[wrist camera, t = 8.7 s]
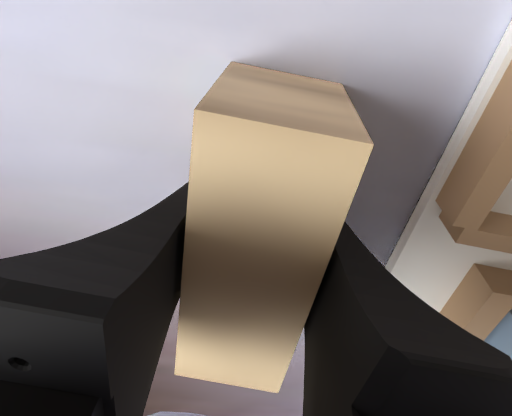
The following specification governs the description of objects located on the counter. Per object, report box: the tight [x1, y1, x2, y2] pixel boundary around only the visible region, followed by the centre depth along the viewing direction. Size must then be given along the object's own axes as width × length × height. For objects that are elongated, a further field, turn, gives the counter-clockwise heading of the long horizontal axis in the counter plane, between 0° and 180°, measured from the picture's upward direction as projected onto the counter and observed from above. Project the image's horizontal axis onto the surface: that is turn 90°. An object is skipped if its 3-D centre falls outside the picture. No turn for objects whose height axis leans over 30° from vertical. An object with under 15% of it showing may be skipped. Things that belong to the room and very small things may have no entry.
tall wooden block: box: [174, 62, 374, 393], centre depth 11 cm, size 9×4×5 cm, turn 170°
